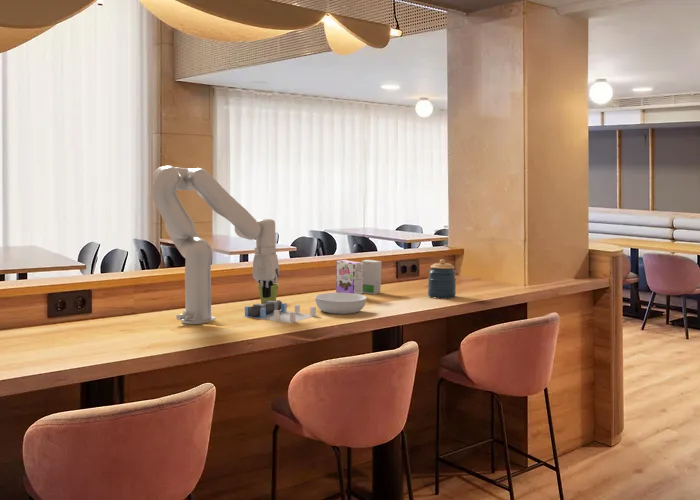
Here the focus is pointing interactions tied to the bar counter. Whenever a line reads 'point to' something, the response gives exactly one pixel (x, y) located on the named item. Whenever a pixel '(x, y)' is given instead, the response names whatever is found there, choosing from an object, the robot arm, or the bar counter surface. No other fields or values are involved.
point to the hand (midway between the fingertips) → (266, 297)
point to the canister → (442, 280)
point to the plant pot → (273, 293)
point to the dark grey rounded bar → (268, 305)
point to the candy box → (349, 277)
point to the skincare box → (371, 276)
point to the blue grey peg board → (283, 314)
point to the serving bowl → (340, 302)
